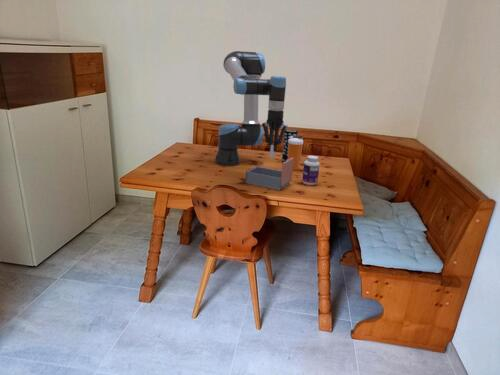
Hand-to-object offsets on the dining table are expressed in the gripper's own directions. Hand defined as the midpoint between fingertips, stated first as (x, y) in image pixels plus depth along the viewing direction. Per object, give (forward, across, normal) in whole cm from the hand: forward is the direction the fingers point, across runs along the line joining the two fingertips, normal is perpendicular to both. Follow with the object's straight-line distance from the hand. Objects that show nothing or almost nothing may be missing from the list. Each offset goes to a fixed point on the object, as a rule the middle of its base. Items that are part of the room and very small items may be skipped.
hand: (272, 157), depth 175 cm
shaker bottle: (+14, 0, +35) cm, 38 cm away
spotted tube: (+14, -8, +48) cm, 51 cm away
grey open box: (+14, -2, 0) cm, 14 cm away
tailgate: (+12, +8, 0) cm, 15 cm away
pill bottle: (+14, +17, +14) cm, 26 cm away
